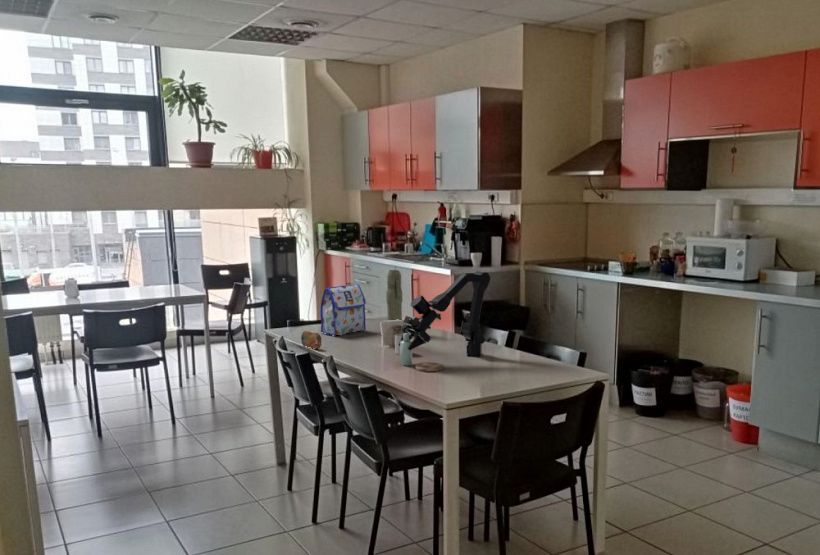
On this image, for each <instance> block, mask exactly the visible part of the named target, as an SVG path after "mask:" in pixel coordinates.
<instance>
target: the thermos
mask: <svg viewBox="0 0 820 555" xmlns="http://www.w3.org/2000/svg"><path fill="white" fill-rule="evenodd" d="M386 282H387V283H386V284H387V288H386V289H387V290H386V292H385V293H386V294H385V295H386V296H385V298H386V301H385V302H386V305H387V307H386V308H387V309H386V310H387V320H396V319H399V320H402V321H403V319H402V318H403V316H402V315H403V314H402V312H403V309H402V303H403V290H402V274H401V272H400V270H398V269H390V270H388V272H387V276H386ZM387 320H386V321H387Z"/></svg>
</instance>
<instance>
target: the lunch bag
mask: <svg viewBox="0 0 820 555" xmlns="http://www.w3.org/2000/svg"><path fill="white" fill-rule="evenodd" d="M366 302H367V301H366V298H365V295H364V293H363V290H362V289H361V287H360V284H358V283H357V284H345V285H338V286H328V287H326V288H325V289H324V291H323V294H322V298H321V301H320V322H321V323H320V333H321V332H323V333H326V334H325V335H327V334H330V335H334V336H335V337H337V336H336V335H340V336H342V335H341V334H345V335H347V334H346V333H349V334H352V333H351V332H355V333H357V332H356V331H360V332H363V331H362V330H365V331H366V329H367V328H366V326H367V325H366V307H365V306H366ZM330 335H329V336H330Z"/></svg>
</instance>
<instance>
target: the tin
mask: <svg viewBox="0 0 820 555" xmlns="http://www.w3.org/2000/svg"><path fill="white" fill-rule="evenodd" d="M300 339H301V344H302V346H303V347H304V346H307V347H311V348H315V349H314V350H318V349H317V348H319V349H320V348H321V347H322V336H321V333H319V332H315V331H312V330H304V331H303V332H302V333H301V338H300Z"/></svg>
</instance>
